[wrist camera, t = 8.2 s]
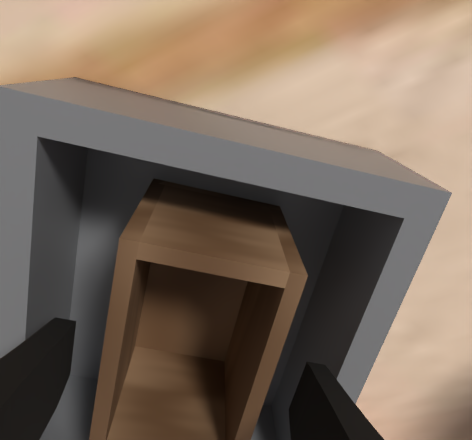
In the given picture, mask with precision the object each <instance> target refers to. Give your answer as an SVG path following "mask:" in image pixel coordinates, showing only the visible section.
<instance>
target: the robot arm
mask: <svg viewBox="0 0 472 440" xmlns="http://www.w3.org/2000/svg"><path fill="white" fill-rule="evenodd" d="M75 328H76V321H74V320H68V319H62V318H57V317H55V318H54V319H52V320H50V321H49V322H48V323H47V324H45V325H44V326H43V327H42V328H40V329H39V330H38V331H37V332H35V333H34V334H33V335H31V336H30V337H29V338H27V339H26V340H25V341H24V342H22V343H21V344H20V345H18V346H17V347H16V348H14V349H13V350H11V351H10V352H9V353H7V354H6V355H5V356H3V357H2V358H0V440H39V439H40V438H41V436H42V434H43V432H44V430H45V428H46V427H47V425H48V423H49V421H50V419H51V417H52V415H53V414H54V412H55V410H56V408H57V406H58V403H59V401H60V398H61V396H62V394H63V391H64V389H65V386H66V384H67V381H68V379H69V376H70V372H71V363H72V355H73V346H74V337H75ZM289 423H290V436H291V440H384V439H383V438H382V437H381V435H380V434H379V433H378V432H377V431H376V430H375V428H374V427H373V426H372V425H371V423H370V422H369V421H368V420H367V419H366V417H365V416H364V415H363V414H362V412H361V411H360V410H359V408H358V407H357V406H356V405H355V403H354V402H353V401H352V399H351V398H350V397H349V395H348V394H347V393H346V391H345V390H344V389H343V387H342V386H341V385H340V383H339V382H338V381H337V379H336V378H335V377H334V375H333V374H332V373H331V372H330V370H329V369H328V368H327V366H326V365H324V364H318V363H313V362H306V365H305V368H304V370H303V373H302V375H301V378H300V381H299V383H298V386H297V389H296V391H295V394H294V396H293V399H292V402H291V404H290V407H289Z"/></svg>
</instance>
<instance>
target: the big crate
mask: <svg viewBox="0 0 472 440" xmlns="http://www.w3.org/2000/svg"><path fill="white" fill-rule="evenodd" d="M153 179H159V180H163V181H168V182H172V183H177V184H181V185H186V186H190V187H195V188H199V189H204V190H208V191H213V192H217V193H222V194H226V195H231V196H236V197H240V198H245V199H249V200H254V201H258V202H263V203H267V204H272V205H276V206H280V208H281V210H282V213H283V215H284V218H285V220H286V223H287V225H288V228H289V230H290V233H291V235H292V238H293V240H294V242H295V245H296V247H297V250H298V252H299V255H300V257H301V260H302V262H303V265H304V267H305V270H306V272H307V274H308V278H307V281H306V283H305V286H304V289H303V292H302V295H301V298H300V301H299V303H298V306H297V309H296V312H295V315H294V318H293V321H292V323H291V326H290V329H289V332H288V335H287V338H286V340H285V343H284V346H283V349H282V352H281V355H280V358H279V360H278V363H277V366H276V369H275V372H274V375H273V378H272V380H271V383H270V386H269V389H268V392H267V395H266V397H265V400H264V403H263V406H262V409H261V412H260V415H259V417H258V420H257V423H256V426H255V429H254V432H253V435H252V437H251V440H291V436H290V423H289V407H290V404H291V402H292V399H293V396H294V394H295V391H296V389H297V386H298V383H299V381H300V378H301V375H302V373H303V370H304V368H305V365H306V362H313V363H318V364H324V365H326V366H327V368H328V369H329V370H330V372H331V373H332V374H333V375H334V377H335V378H336V379H337V381H338V382H339V383H340V385H341V386H342V387H343V389H344V390H345V391H346V393H347V394H348V395H349V397H350V398H351V399H352V401H353V402H354V403H355V404H356V402H357V399H358V397H359V395H360V393H361V391H362V388H363V386H364V384H365V382H366V380H367V377H368V375H369V373H370V371H371V369H372V367H373V364H374V362H375V360H376V358H377V356H378V353H379V351H380V349H381V347H382V345H383V343H384V340H385V338H386V336H387V334H388V332H389V329H390V327H391V325H392V323H393V321H394V319H395V316H396V314H397V312H398V310H399V308H400V305H401V303H402V301H403V299H404V297H405V294H406V292H407V290H408V288H409V286H410V284H411V281H412V279H413V277H414V275H415V273H416V270H417V268H418V266H419V264H420V262H421V260H422V257H423V255H424V253H425V251H426V249H427V246H428V244H429V242H430V240H431V238H432V235H433V233H434V231H435V229H436V227H437V225H438V222H439V220H440V218H441V216H442V214H443V211H444V209H445V207H446V205H447V203H448V201H449V198H450V196H451V194H452V193H451V192H449V191H448V190H446V189H444V188H442V187H441V186H439V185H437V184H435V183H434V182H432V181H430V180H428V179H427V178H425V177H423V176H421V175H420V174H418V173H416V172H414V171H412V170H411V169H409V168H407V167H405V166H404V165H402V164H400V163H398V162H397V161H395V160H393V159H391V158H390V157H388V156H386V155H384V154H383V153H381V152H379V151H376V150H372V149H368V148H364V147H359V146H355V145H351V144H347V143H343V142H339V141H335V140H331V139H327V138H322V137H318V136H314V135H310V134H306V133H302V132H298V131H294V130H290V129H285V128H281V127H277V126H273V125H269V124H265V123H261V122H257V121H253V120H248V119H244V118H240V117H236V116H232V115H228V114H224V113H220V112H216V111H212V110H207V109H203V108H199V107H195V106H191V105H187V104H183V103H179V102H175V101H170V100H166V99H162V98H158V97H154V96H150V95H146V94H142V93H138V92H133V91H129V90H125V89H121V88H117V87H113V86H109V85H105V84H101V83H97V82H92V81H88V80H84V79H80V78H76V77H73V78H64V79H55V80H45V81H36V82H27V83H18V84H8V85H0V358H2V357H3V356H5V355H6V354H7V353H9V352H10V351H11V350H13V349H14V348H16V347H17V346H18V345H20V344H21V343H22V342H24V341H25V340H26V339H27V338H29V337H30V336H31V335H33V334H34V333H35V332H37V331H38V330H39V329H40V328H42V327H43V326H44V325H45V324H47V323H48V322H49V321H50V320H52V319H54V318H55V317H57V318H62V319H68V320H74V321H76V328H75V337H74V346H73V355H72V363H71V372H70V376H69V379H68V381H67V384H66V386H65V389H64V391H63V394H62V396H61V398H60V401H59V403H58V406H57V408H56V410H55V412H54V414H53V415H52V417H51V419H50V421H49V423H48V425H47V427H46V428H45V430H44V432H43V434H42V436H41V438H40V439H39V440H89V437H90V430H91V423H92V417H93V410H94V403H95V397H96V390H97V383H98V377H99V370H100V363H101V357H102V350H103V343H104V337H105V330H106V323H107V317H108V310H109V304H110V297H111V290H112V284H113V277H114V270H115V264H116V257H117V250H118V244H119V238H120V236H121V234H122V233H123V231H124V229H125V227H126V226H127V224H128V222H129V220H130V219H131V217H132V215H133V213H134V212H135V210H136V208H137V207H138V205H139V203H140V201H141V200H142V198H143V196H144V194H145V193H146V191H147V189H148V187H149V186H150V184H151V182H152V181H153Z"/></svg>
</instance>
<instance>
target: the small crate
mask: <svg viewBox="0 0 472 440" xmlns="http://www.w3.org/2000/svg"><path fill="white" fill-rule="evenodd" d="M307 278H308V274H307V272H306V270H305V267H304V265H303V262H302V260H301V257H300V255H299V252H298V250H297V247H296V245H295V242H294V240H293V238H292V235H291V233H290V230H289V228H288V225H287V223H286V220H285V218H284V215H283V213H282V210H281V208H280V206H276V205H272V204H267V203H263V202H258V201H254V200H249V199H245V198H240V197H236V196H231V195H226V194H222V193H217V192H213V191H208V190H204V189H199V188H195V187H190V186H186V185H181V184H177V183H172V182H168V181H163V180H159V179H153V181H152V182H151V184H150V186H149V187H148V189H147V191H146V193H145V194H144V196H143V198H142V200H141V201H140V203H139V205H138V207H137V208H136V210H135V212H134V213H133V215H132V217H131V219H130V220H129V222H128V224H127V226H126V227H125V229H124V231H123V233H122V234H121V236H120V238H119V244H118V250H117V257H116V264H115V270H114V277H113V284H112V290H111V297H110V304H109V310H108V317H107V323H106V330H105V337H104V343H103V350H102V357H101V363H100V370H99V377H98V383H97V390H96V397H95V403H94V410H93V417H92V423H91V430H90V437H89V440H251V437H252V435H253V432H254V429H255V426H256V423H257V420H258V417H259V415H260V412H261V409H262V406H263V403H264V400H265V397H266V395H267V392H268V389H269V386H270V383H271V380H272V378H273V375H274V372H275V369H276V366H277V363H278V360H279V358H280V355H281V352H282V349H283V346H284V343H285V340H286V338H287V335H288V332H289V329H290V326H291V323H292V321H293V318H294V315H295V312H296V309H297V306H298V303H299V301H300V298H301V295H302V292H303V289H304V286H305V283H306V281H307Z"/></svg>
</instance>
